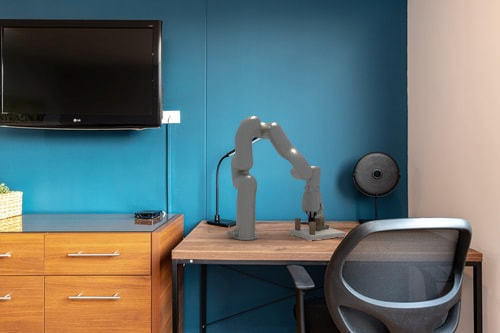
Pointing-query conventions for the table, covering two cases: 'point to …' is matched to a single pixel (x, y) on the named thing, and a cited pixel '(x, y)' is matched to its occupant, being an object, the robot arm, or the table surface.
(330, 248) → the table surface
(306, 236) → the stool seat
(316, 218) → the grey and brown lever
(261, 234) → the table surface
